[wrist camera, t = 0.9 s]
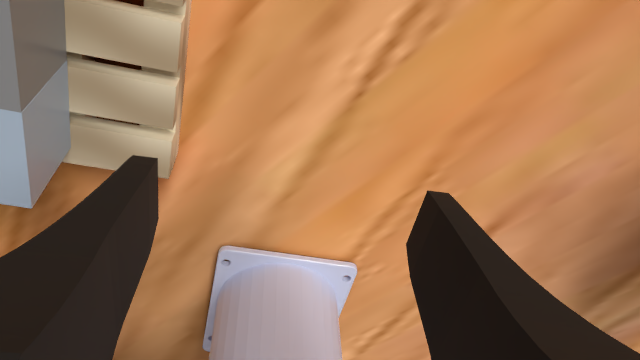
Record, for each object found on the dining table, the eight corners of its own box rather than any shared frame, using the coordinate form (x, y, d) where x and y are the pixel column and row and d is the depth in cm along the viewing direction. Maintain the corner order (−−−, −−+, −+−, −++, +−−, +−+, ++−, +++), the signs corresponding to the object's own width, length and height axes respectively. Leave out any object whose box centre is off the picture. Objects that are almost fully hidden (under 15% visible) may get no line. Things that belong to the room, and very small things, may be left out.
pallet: (178, 148, 25) (168, 180, 22) (-23, 114, 23) (-54, 145, 21) (198, -71, 19) (187, -56, 17) (-68, -137, 17) (-117, -129, 15)
